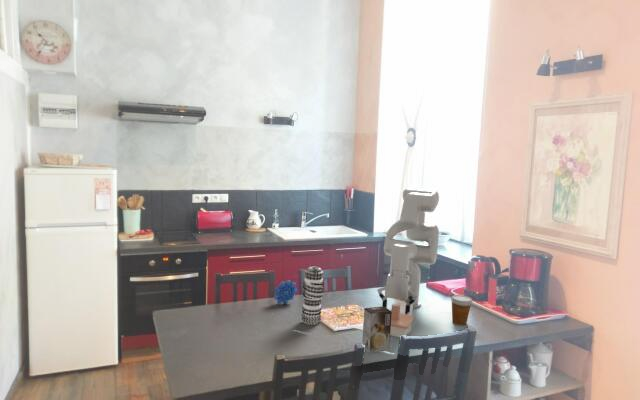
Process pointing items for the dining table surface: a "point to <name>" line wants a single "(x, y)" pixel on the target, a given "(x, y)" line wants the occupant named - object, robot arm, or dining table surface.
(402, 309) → the jar
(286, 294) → the grapes
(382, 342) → the coffee box
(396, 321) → the lid
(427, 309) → the dining table surface
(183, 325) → the dining table surface
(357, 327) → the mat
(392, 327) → the dish
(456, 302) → the disposable coffee cup
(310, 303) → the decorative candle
